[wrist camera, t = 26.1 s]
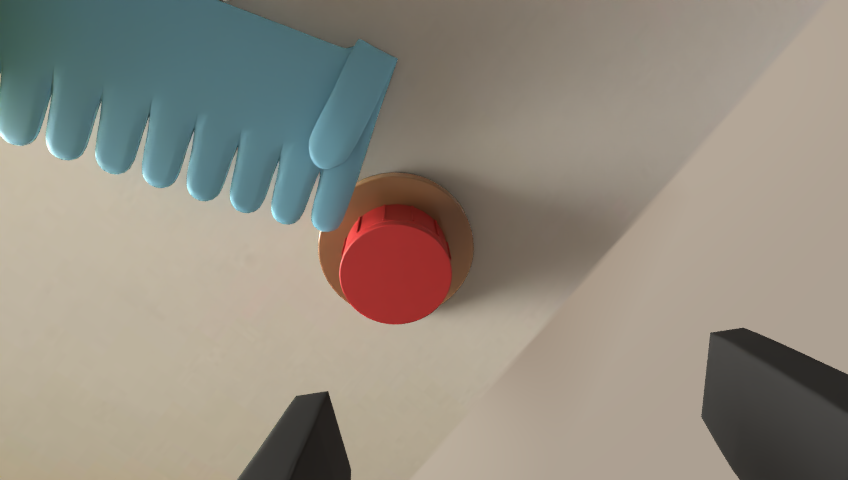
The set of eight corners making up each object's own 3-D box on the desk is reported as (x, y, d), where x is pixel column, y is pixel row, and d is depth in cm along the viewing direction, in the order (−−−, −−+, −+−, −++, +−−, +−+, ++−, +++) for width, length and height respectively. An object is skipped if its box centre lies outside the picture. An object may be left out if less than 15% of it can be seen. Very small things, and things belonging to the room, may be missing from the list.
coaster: (502, 229, 19) (505, 235, 18) (413, 334, 21) (413, 342, 20) (376, 140, 17) (375, 143, 17) (291, 262, 19) (288, 268, 19)
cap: (450, 206, 18) (457, 227, 16) (442, 297, 19) (447, 326, 17) (345, 201, 18) (338, 221, 16) (345, 293, 19) (339, 323, 17)
